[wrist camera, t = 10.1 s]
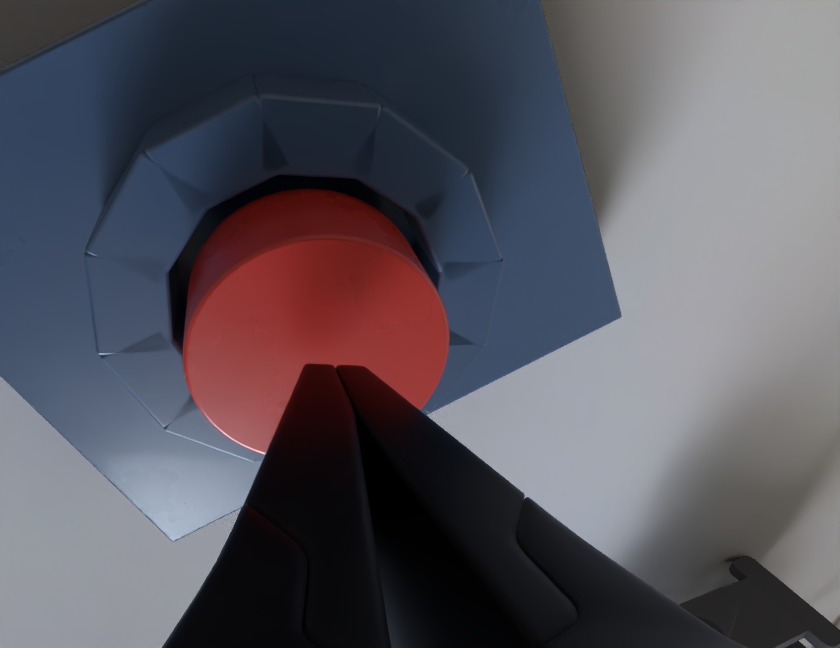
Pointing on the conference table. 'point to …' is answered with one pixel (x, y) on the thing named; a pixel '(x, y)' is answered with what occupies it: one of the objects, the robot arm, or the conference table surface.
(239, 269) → the switch button
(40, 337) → the switch block
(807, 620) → the clip-on lamp
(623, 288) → the conference table surface
